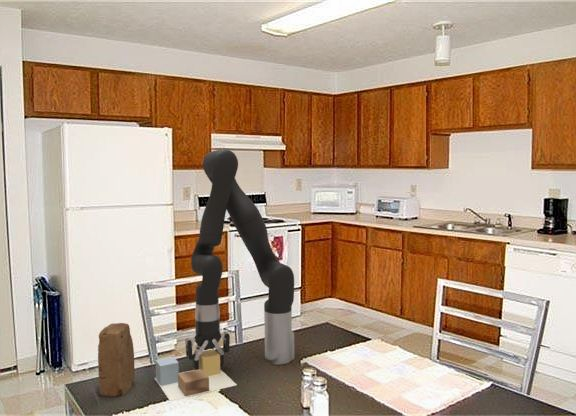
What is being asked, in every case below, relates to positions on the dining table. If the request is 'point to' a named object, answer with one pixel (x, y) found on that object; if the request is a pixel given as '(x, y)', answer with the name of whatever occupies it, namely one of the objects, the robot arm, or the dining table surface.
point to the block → (115, 360)
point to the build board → (214, 384)
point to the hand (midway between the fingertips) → (208, 368)
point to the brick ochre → (209, 362)
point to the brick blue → (167, 370)
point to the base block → (193, 382)
